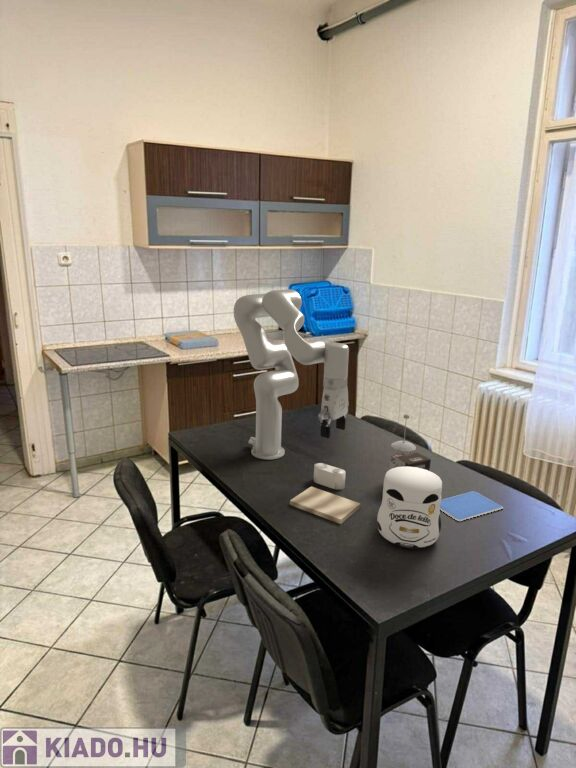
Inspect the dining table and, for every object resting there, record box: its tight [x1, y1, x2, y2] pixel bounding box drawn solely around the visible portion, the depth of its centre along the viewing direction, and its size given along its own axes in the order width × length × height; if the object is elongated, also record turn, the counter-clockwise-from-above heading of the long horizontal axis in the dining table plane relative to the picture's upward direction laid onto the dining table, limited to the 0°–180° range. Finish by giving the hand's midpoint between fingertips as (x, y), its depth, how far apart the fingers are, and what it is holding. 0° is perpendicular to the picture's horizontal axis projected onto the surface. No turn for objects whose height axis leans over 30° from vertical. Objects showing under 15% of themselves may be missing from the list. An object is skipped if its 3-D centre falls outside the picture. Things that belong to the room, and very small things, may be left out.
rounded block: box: [313, 462, 347, 491], centre depth 179 cm, size 11×4×6 cm, turn 55°
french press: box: [388, 413, 417, 471], centre depth 179 cm, size 10×12×25 cm
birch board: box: [289, 486, 361, 525], centre depth 165 cm, size 18×12×2 cm, turn 55°
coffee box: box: [394, 452, 432, 471], centre depth 166 cm, size 9×6×16 cm
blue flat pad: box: [440, 490, 504, 522], centre depth 168 cm, size 19×13×1 cm, turn 118°
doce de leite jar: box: [376, 466, 443, 550], centre depth 148 cm, size 17×17×18 cm
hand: (332, 432), depth 175 cm, fingers open, 9 cm apart
